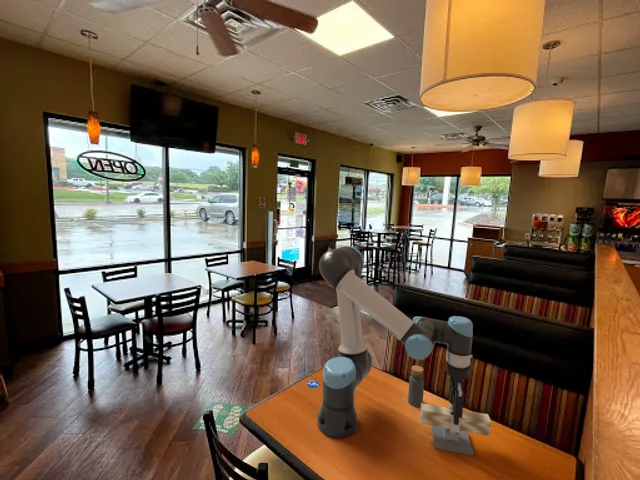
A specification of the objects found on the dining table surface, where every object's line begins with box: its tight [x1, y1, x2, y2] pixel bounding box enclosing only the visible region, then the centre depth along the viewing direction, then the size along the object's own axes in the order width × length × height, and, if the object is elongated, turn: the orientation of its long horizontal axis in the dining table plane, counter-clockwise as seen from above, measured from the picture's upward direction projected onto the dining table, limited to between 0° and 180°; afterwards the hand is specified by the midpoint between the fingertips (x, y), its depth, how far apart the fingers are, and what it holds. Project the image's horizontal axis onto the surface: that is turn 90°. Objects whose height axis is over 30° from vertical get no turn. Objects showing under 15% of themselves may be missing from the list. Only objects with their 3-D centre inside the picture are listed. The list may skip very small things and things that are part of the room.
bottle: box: [407, 365, 425, 408], centre depth 131 cm, size 6×6×15 cm
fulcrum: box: [431, 425, 474, 456], centre depth 111 cm, size 12×10×6 cm
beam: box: [419, 403, 492, 437], centre depth 110 cm, size 22×4×5 cm, turn 77°
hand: (453, 426), depth 110 cm, fingers closed on beam, 4 cm apart
